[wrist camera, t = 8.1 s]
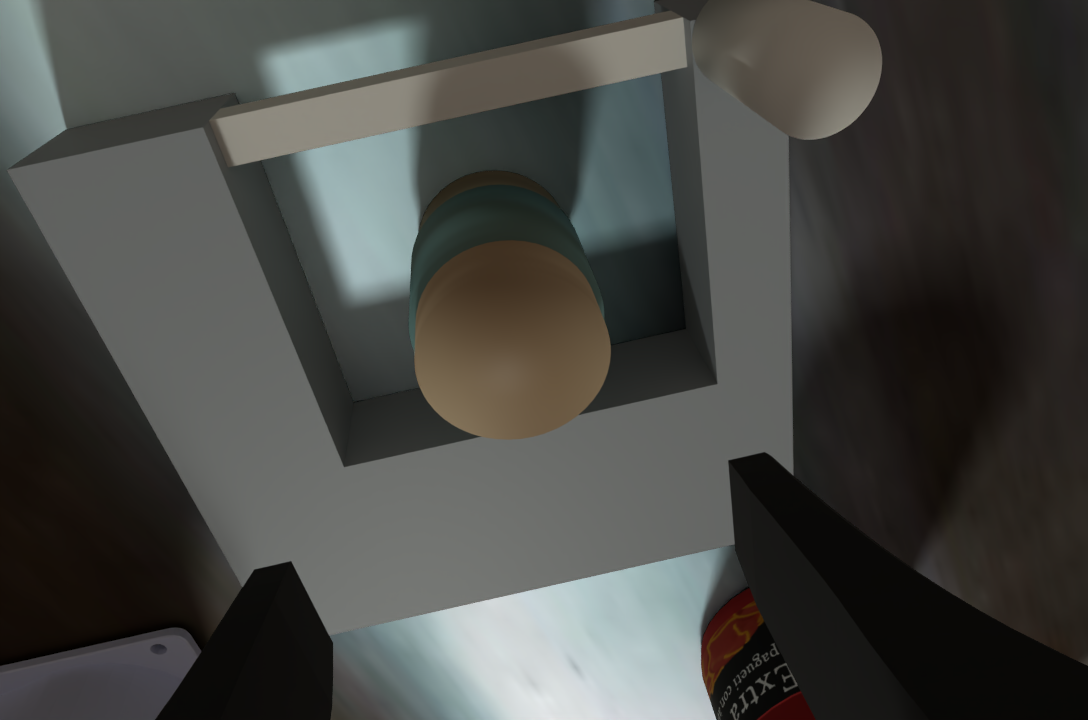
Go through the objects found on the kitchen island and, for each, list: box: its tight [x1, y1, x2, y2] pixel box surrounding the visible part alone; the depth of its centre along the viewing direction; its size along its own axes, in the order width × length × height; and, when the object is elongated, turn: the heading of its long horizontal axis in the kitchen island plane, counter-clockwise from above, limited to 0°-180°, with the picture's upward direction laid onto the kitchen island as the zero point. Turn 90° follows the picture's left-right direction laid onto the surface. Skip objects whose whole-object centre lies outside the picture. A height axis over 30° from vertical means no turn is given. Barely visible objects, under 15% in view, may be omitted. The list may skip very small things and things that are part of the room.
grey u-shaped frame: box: [7, 0, 882, 635], centre depth 19 cm, size 16×16×7 cm
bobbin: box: [408, 171, 611, 440], centre depth 19 cm, size 4×4×6 cm
